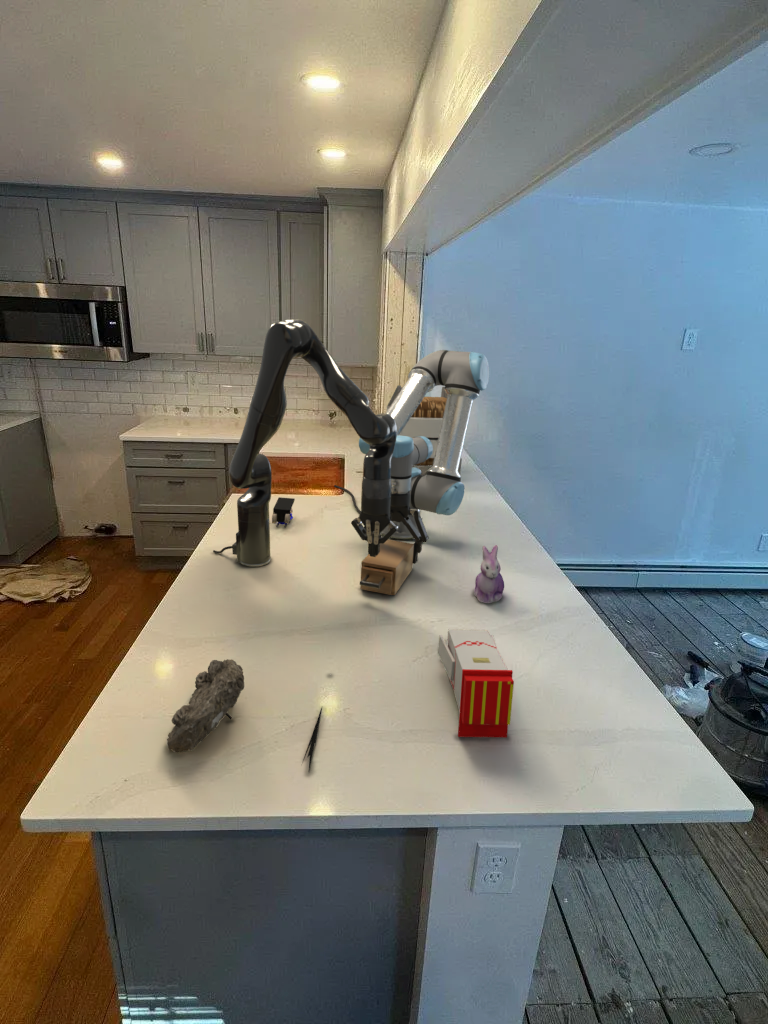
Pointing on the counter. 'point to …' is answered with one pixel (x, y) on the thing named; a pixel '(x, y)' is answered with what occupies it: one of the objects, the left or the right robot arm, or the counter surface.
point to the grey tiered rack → (426, 421)
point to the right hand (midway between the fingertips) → (393, 558)
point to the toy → (478, 682)
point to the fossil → (206, 705)
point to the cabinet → (393, 561)
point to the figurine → (489, 578)
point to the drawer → (376, 579)
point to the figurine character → (283, 511)
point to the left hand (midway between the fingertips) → (373, 555)
